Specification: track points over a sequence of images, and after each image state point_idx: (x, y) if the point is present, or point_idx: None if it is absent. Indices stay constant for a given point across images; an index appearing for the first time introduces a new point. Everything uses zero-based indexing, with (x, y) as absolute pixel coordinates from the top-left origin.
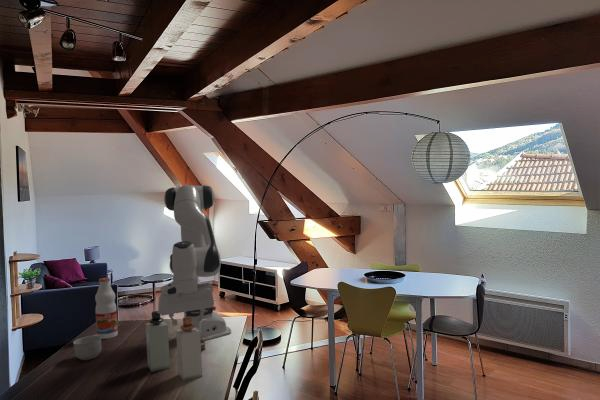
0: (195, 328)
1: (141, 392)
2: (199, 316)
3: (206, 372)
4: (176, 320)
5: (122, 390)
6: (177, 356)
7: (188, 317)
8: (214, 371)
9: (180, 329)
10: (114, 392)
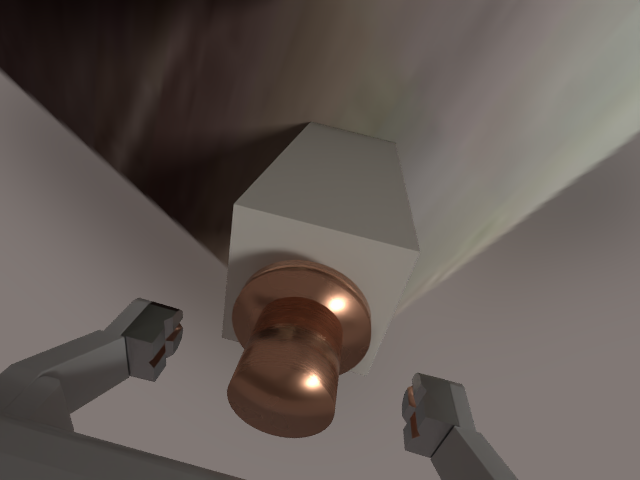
0: (387, 303)
1: (138, 172)
2: (421, 450)
3: (411, 194)
4: (149, 373)
5: (73, 95)
6: (292, 142)
7: (296, 406)
8: (441, 210)
9: (273, 222)
10: (44, 90)
